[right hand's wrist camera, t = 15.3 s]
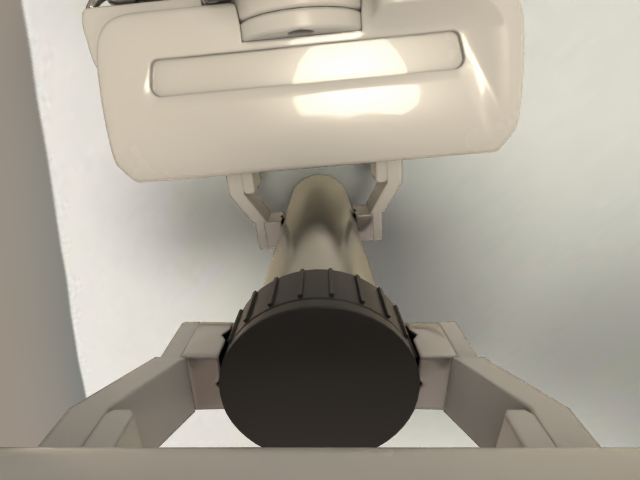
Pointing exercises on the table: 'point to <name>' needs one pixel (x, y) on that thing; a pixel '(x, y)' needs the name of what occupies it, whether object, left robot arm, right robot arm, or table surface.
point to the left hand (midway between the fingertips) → (321, 241)
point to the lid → (319, 364)
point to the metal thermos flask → (319, 232)
